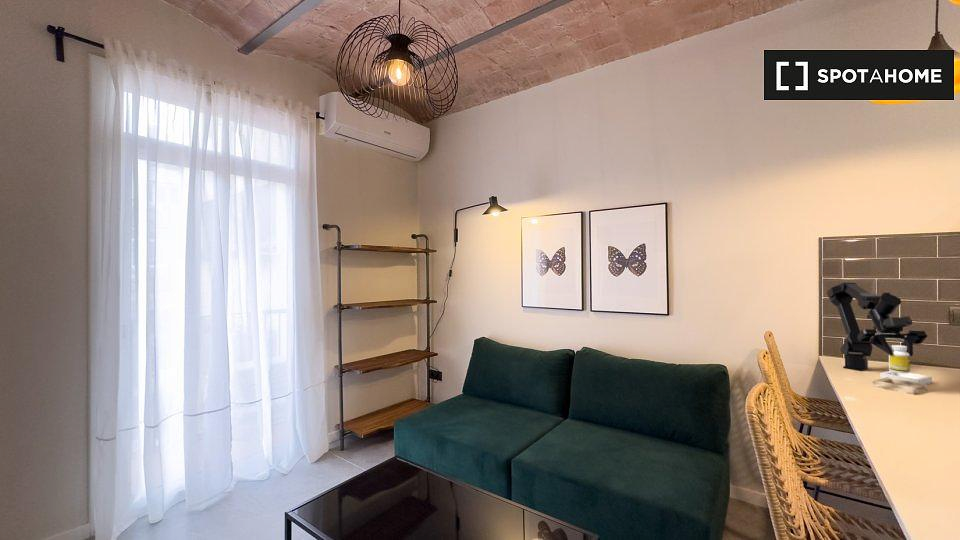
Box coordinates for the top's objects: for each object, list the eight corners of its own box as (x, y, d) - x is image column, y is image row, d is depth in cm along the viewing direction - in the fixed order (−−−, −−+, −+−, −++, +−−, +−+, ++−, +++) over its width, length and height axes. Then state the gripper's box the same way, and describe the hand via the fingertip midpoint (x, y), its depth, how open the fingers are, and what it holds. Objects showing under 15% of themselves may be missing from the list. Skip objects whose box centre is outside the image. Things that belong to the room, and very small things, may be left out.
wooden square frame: (872, 386, 150) (872, 381, 150) (886, 382, 154) (886, 377, 154) (913, 394, 140) (913, 389, 140) (927, 390, 144) (927, 384, 144)
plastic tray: (880, 379, 158) (880, 373, 158) (893, 375, 162) (893, 369, 162) (919, 386, 148) (919, 380, 148) (932, 382, 152) (931, 376, 152)
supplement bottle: (911, 374, 143) (911, 348, 143) (890, 372, 146) (890, 346, 146) (907, 371, 147) (907, 345, 147) (887, 369, 151) (887, 343, 150)
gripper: (861, 308, 153) (879, 341, 143) (924, 309, 147) (947, 344, 137) (850, 325, 161) (866, 358, 151) (909, 326, 155) (930, 361, 144)
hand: (901, 355), depth 145 cm, fingers closed on supplement bottle, 5 cm apart
